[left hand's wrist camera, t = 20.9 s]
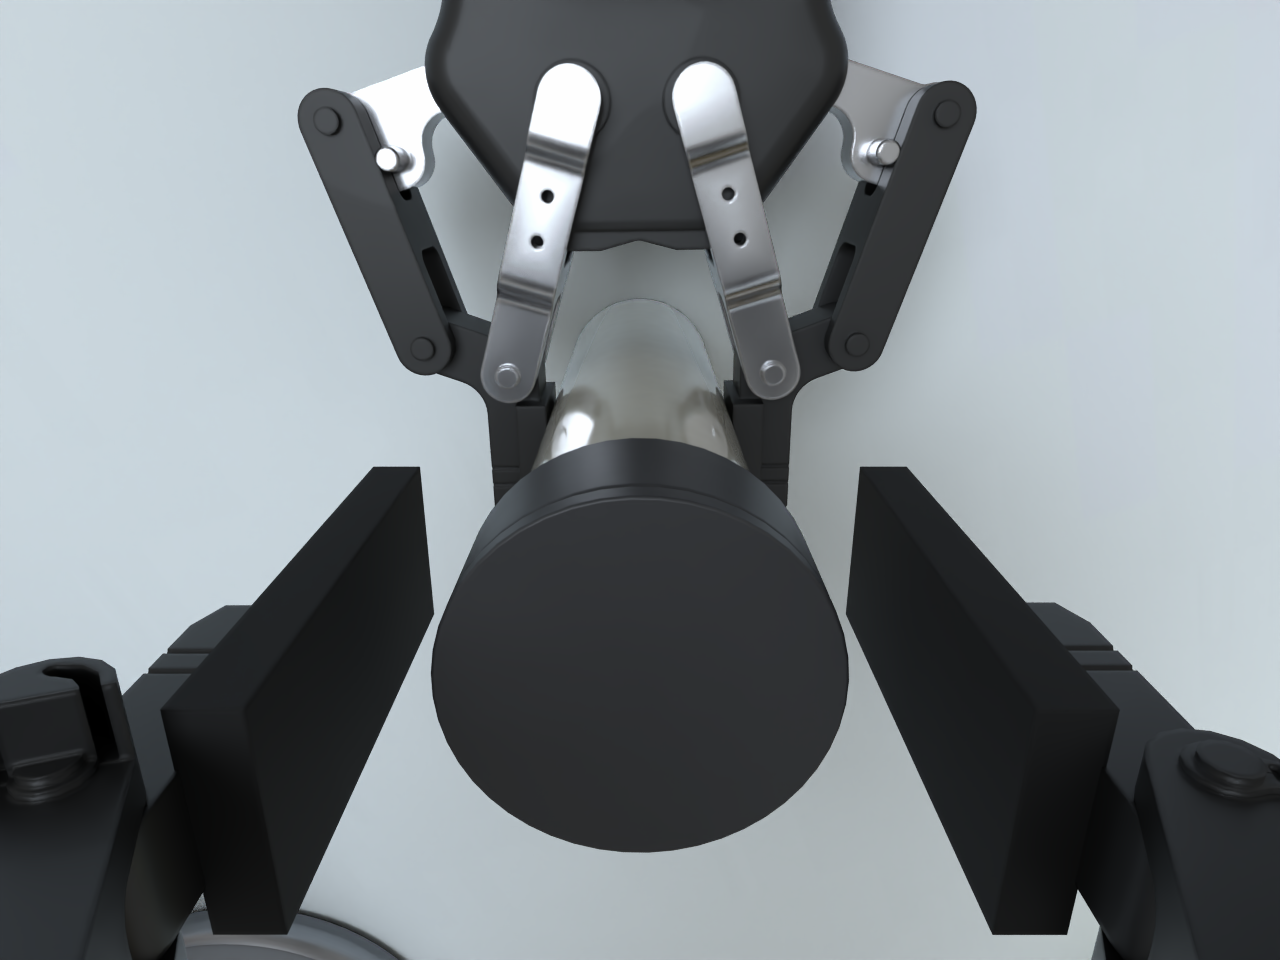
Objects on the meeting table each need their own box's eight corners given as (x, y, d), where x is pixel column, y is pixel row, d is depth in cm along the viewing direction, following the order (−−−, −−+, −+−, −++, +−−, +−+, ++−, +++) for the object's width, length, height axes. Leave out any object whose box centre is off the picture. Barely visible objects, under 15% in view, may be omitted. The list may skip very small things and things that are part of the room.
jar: (544, 370, 26) (411, 659, 11) (635, 269, 25) (629, 433, 10) (644, 456, 27) (649, 832, 12) (735, 362, 26) (870, 643, 11)
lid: (444, 444, 11) (402, 505, 9) (819, 428, 11) (859, 487, 9) (485, 752, 13) (456, 860, 11) (809, 740, 13) (841, 847, 11)
